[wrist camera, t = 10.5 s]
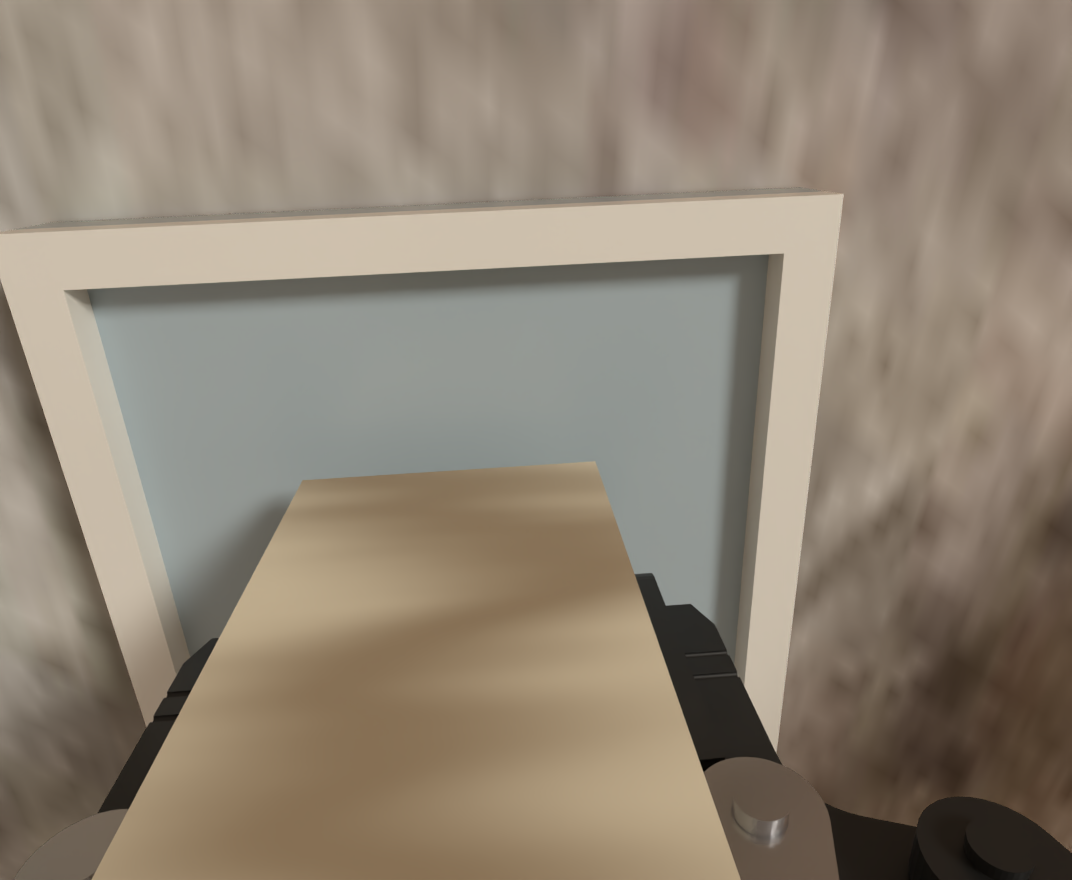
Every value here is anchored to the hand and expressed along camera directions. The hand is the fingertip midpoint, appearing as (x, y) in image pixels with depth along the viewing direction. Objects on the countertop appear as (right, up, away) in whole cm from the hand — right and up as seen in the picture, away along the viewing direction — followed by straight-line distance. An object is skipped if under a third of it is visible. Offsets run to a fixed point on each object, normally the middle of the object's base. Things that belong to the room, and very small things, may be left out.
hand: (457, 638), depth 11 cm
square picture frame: (0, +1, +3) cm, 3 cm away
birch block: (0, 0, +1) cm, 1 cm away
